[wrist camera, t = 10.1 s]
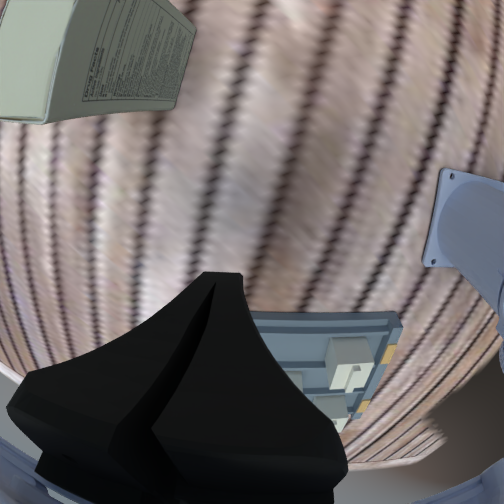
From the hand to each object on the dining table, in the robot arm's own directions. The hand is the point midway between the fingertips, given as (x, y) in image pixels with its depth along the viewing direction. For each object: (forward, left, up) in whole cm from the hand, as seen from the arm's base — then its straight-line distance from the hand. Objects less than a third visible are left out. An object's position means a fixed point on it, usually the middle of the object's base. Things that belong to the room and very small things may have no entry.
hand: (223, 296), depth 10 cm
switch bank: (-6, +16, -10) cm, 20 cm away
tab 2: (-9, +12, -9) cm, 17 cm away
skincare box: (+6, -10, -11) cm, 16 cm away
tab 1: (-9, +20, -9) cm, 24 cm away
